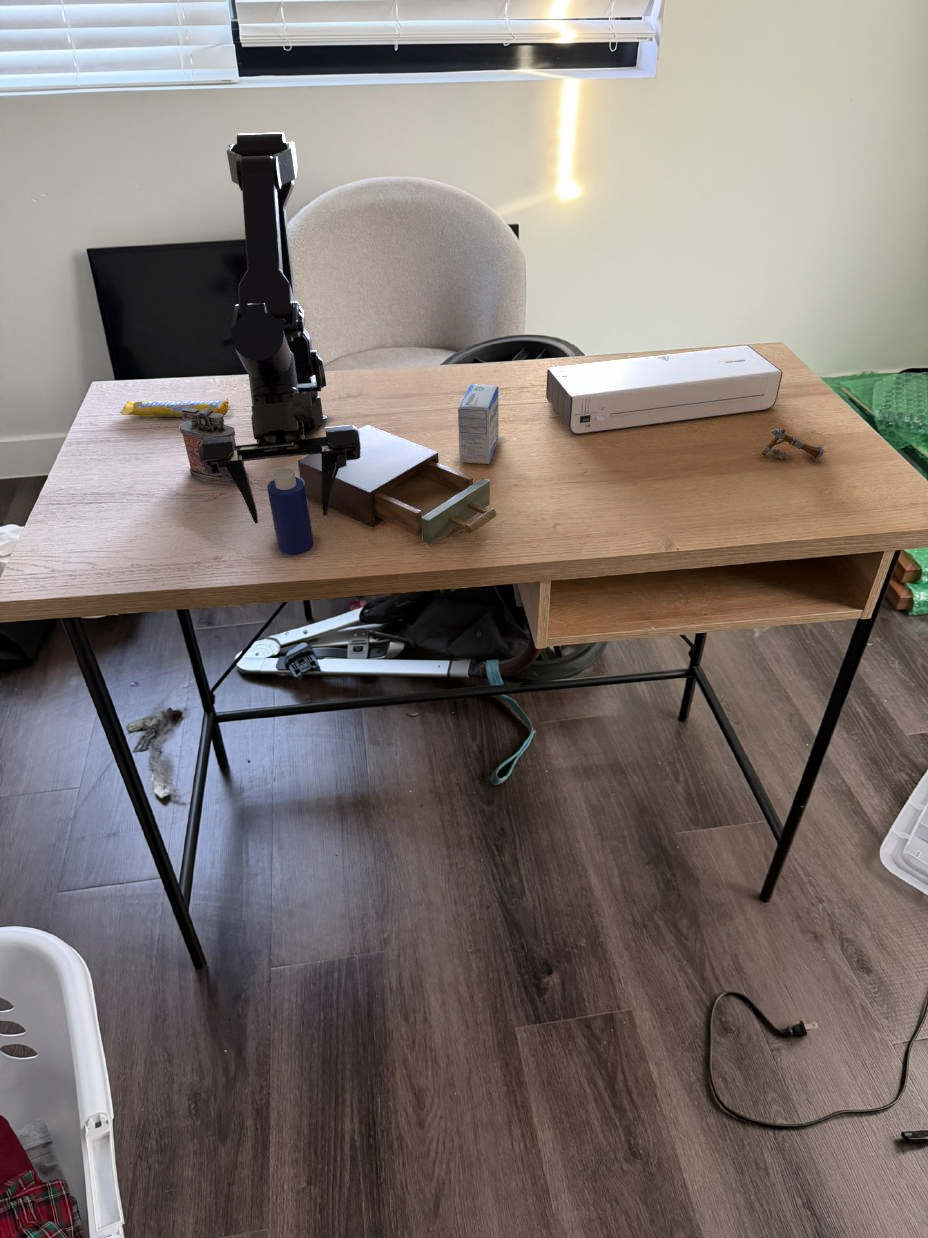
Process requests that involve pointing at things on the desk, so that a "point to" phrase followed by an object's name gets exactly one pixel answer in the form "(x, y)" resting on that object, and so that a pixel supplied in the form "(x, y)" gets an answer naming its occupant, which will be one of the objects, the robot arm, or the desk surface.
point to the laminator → (662, 389)
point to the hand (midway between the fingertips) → (290, 519)
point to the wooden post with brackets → (780, 434)
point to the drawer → (434, 502)
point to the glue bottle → (290, 512)
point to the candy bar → (171, 408)
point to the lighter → (198, 430)
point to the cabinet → (365, 473)
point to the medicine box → (478, 423)
